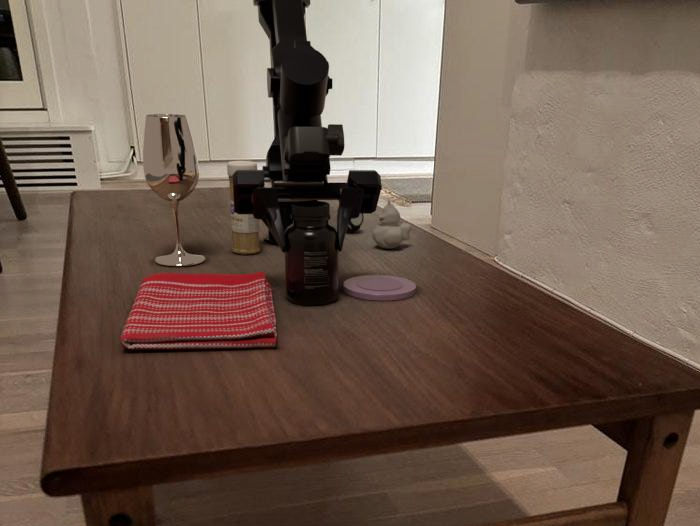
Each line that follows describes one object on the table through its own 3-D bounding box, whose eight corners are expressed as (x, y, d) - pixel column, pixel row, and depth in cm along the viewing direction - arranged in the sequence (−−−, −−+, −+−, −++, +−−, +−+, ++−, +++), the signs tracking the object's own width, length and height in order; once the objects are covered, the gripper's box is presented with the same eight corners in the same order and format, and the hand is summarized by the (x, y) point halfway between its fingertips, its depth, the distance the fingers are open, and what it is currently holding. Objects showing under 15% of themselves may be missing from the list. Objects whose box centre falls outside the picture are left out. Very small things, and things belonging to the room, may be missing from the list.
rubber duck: (368, 245, 125) (369, 195, 121) (404, 243, 127) (407, 194, 123) (377, 252, 121) (379, 201, 117) (415, 250, 122) (418, 200, 118)
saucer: (373, 276, 108) (373, 270, 107) (430, 289, 102) (430, 283, 102) (328, 290, 101) (328, 283, 100) (386, 305, 95) (386, 298, 95)
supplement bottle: (345, 295, 99) (346, 201, 93) (326, 309, 93) (326, 210, 87) (298, 289, 101) (296, 196, 95) (277, 302, 95) (274, 205, 89)
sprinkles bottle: (226, 251, 118) (220, 161, 112) (247, 247, 121) (243, 159, 115) (245, 256, 116) (240, 164, 109) (266, 252, 119) (263, 162, 112)
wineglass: (194, 268, 109) (181, 118, 99) (145, 265, 110) (127, 116, 100) (213, 256, 115) (203, 114, 105) (167, 253, 117) (152, 112, 107)
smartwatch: (343, 235, 131) (344, 205, 129) (336, 229, 136) (336, 200, 133) (365, 234, 132) (366, 205, 130) (357, 228, 137) (358, 200, 134)
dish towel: (270, 289, 101) (270, 269, 99) (280, 349, 80) (279, 326, 79) (141, 291, 98) (139, 271, 97) (118, 354, 78) (114, 330, 77)
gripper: (227, 96, 87) (235, 212, 83) (382, 99, 90) (396, 211, 86) (230, 160, 98) (237, 264, 94) (368, 160, 101) (380, 262, 97)
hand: (312, 250), depth 93 cm, fingers closed on supplement bottle, 7 cm apart
